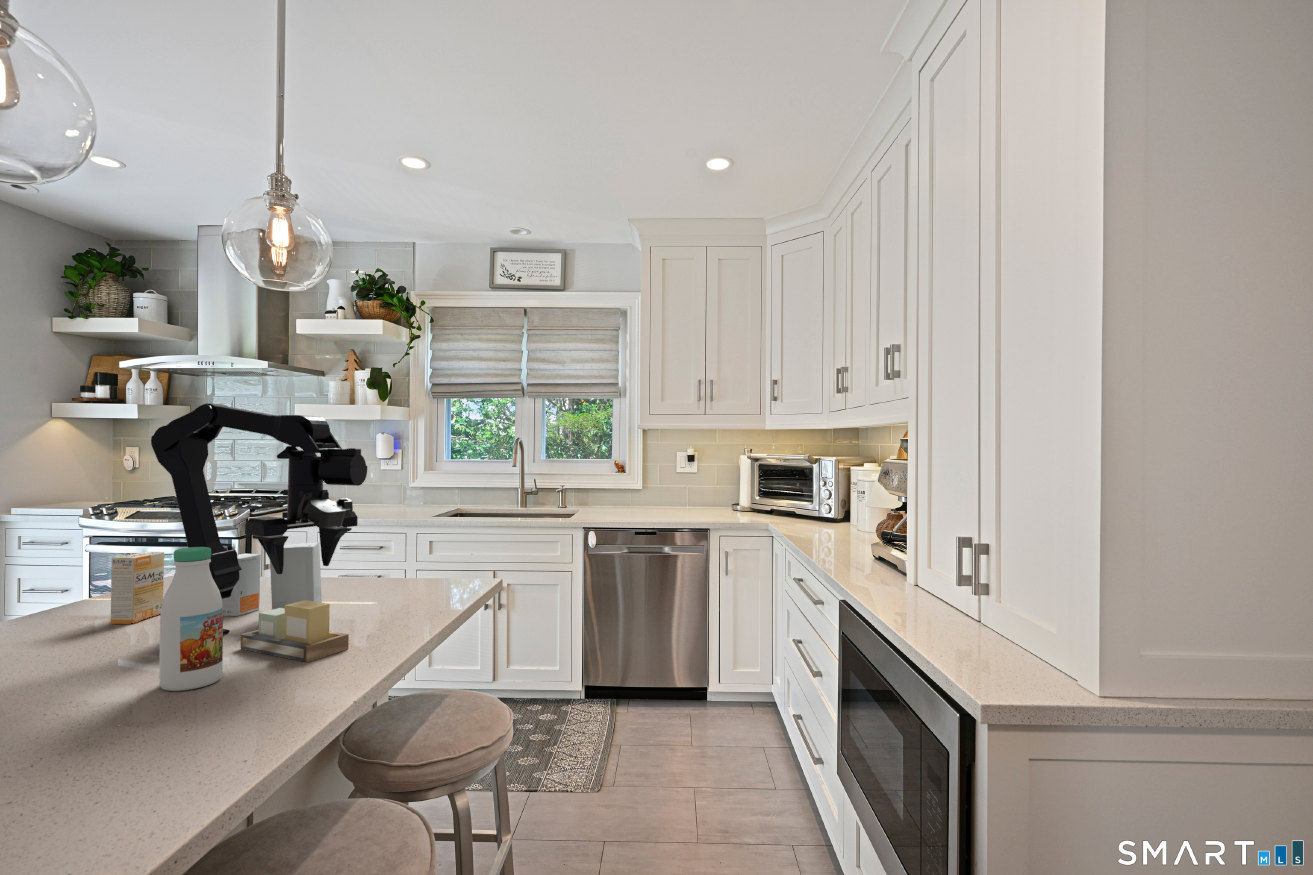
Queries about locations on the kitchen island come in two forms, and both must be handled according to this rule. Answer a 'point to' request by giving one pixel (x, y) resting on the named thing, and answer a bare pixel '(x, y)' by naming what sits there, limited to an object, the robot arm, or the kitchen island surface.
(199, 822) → the kitchen island surface
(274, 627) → the sage carton
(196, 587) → the milk bottle
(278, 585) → the skincare box
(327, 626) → the ochre carton
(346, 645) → the tray
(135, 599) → the supplement box
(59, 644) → the kitchen island surface
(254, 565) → the skincare box
